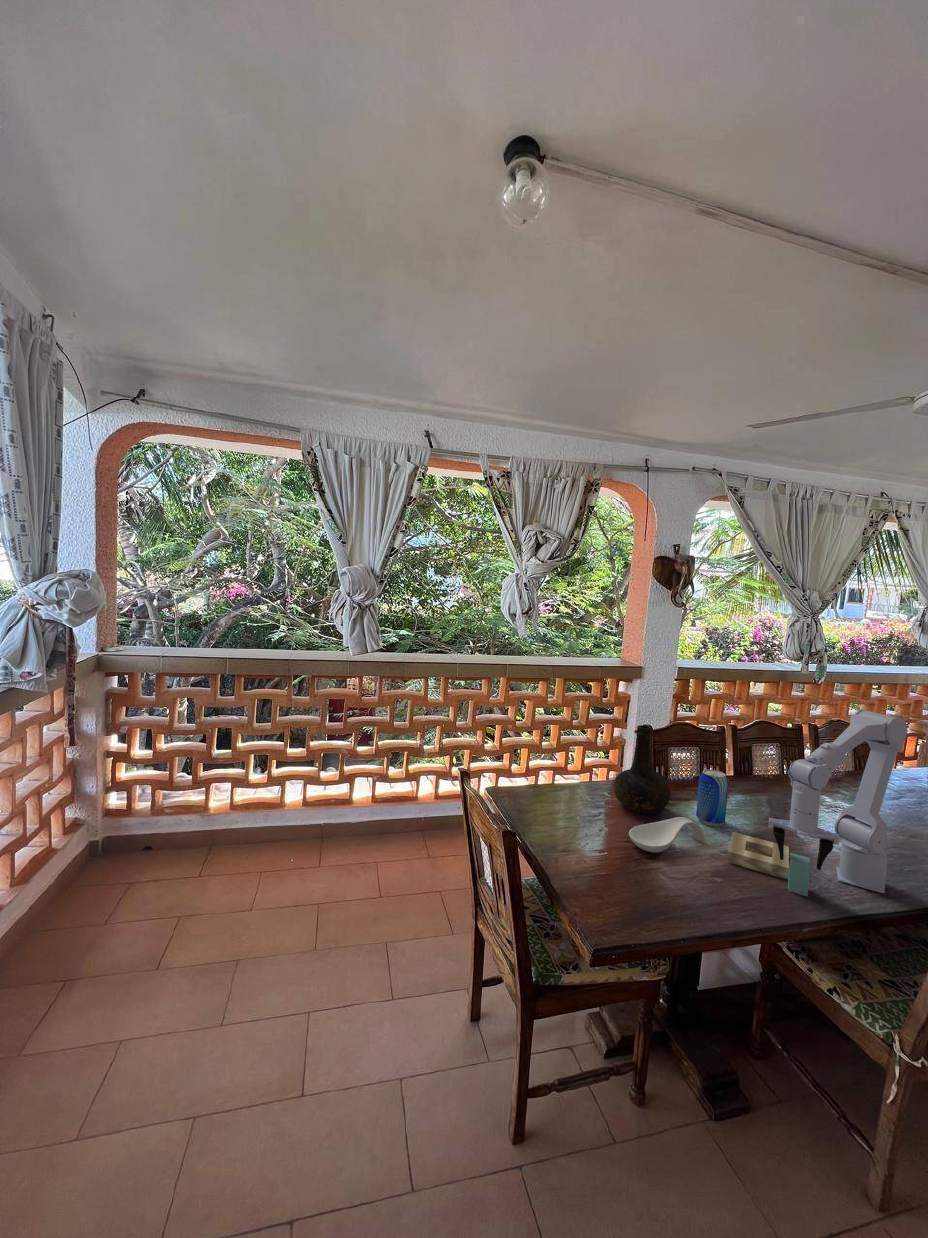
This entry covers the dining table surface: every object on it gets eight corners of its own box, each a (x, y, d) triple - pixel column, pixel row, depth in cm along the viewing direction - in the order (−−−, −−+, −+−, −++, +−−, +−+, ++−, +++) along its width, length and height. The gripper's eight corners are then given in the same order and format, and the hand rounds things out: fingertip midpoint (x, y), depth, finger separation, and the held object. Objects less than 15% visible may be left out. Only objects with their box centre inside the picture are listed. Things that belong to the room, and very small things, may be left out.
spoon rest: (647, 861, 138) (649, 836, 138) (619, 841, 149) (621, 817, 149) (714, 849, 146) (716, 825, 146) (683, 831, 157) (685, 808, 157)
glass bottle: (680, 816, 167) (687, 732, 165) (636, 823, 160) (642, 735, 159) (642, 795, 183) (648, 718, 182) (601, 800, 177) (606, 721, 175)
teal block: (806, 889, 128) (809, 858, 128) (807, 896, 125) (810, 865, 124) (788, 883, 130) (790, 853, 130) (788, 891, 127) (790, 859, 126)
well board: (787, 856, 144) (788, 846, 144) (787, 879, 132) (788, 868, 132) (731, 841, 151) (732, 832, 151) (727, 862, 139) (728, 851, 139)
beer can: (690, 817, 167) (693, 769, 166) (709, 814, 170) (713, 767, 169) (710, 829, 159) (714, 778, 158) (731, 826, 162) (735, 776, 161)
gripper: (770, 807, 127) (765, 860, 127) (842, 824, 119) (837, 880, 120) (770, 798, 133) (766, 849, 133) (839, 813, 125) (834, 867, 126)
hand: (799, 863), depth 127 cm, fingers open, 7 cm apart
